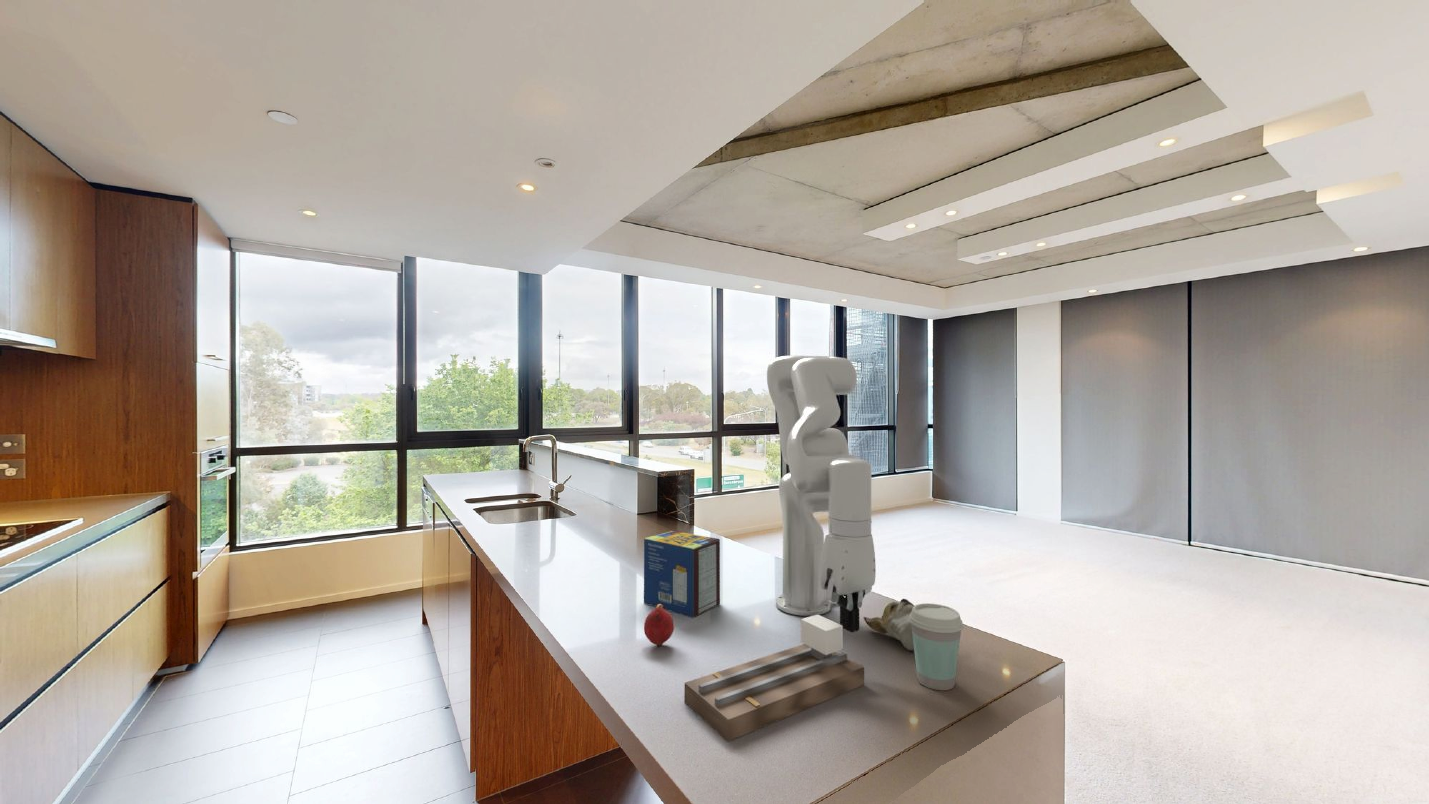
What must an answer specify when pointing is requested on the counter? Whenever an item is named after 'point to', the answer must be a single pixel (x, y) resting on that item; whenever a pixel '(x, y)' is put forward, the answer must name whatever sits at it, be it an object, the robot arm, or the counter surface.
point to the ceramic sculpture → (895, 622)
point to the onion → (658, 626)
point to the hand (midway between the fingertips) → (849, 628)
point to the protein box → (682, 572)
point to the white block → (821, 636)
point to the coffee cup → (936, 644)
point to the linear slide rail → (770, 689)
